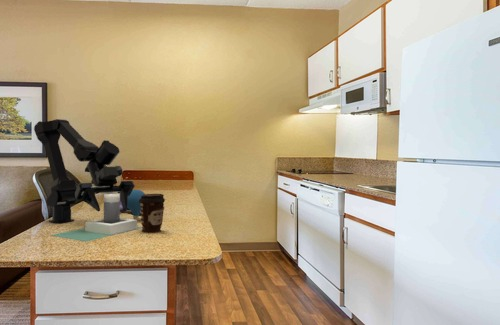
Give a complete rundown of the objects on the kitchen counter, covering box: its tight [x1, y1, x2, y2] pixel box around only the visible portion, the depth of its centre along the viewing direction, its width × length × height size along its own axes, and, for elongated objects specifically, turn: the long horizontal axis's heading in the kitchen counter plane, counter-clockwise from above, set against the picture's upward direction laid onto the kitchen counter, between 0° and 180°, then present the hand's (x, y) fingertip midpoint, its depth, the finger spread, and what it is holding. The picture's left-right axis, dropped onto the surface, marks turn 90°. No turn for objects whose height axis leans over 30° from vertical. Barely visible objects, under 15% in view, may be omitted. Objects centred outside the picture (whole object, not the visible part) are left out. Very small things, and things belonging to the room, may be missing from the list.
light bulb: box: [127, 189, 146, 221], centre depth 155 cm, size 8×8×12 cm
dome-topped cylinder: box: [103, 192, 121, 224], centre depth 132 cm, size 5×5×12 cm
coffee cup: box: [139, 193, 166, 234], centre depth 132 cm, size 9×8×13 cm
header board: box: [49, 217, 142, 243], centre depth 130 cm, size 16×24×4 cm, turn 153°
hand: (113, 209), depth 132 cm, fingers open, 9 cm apart
